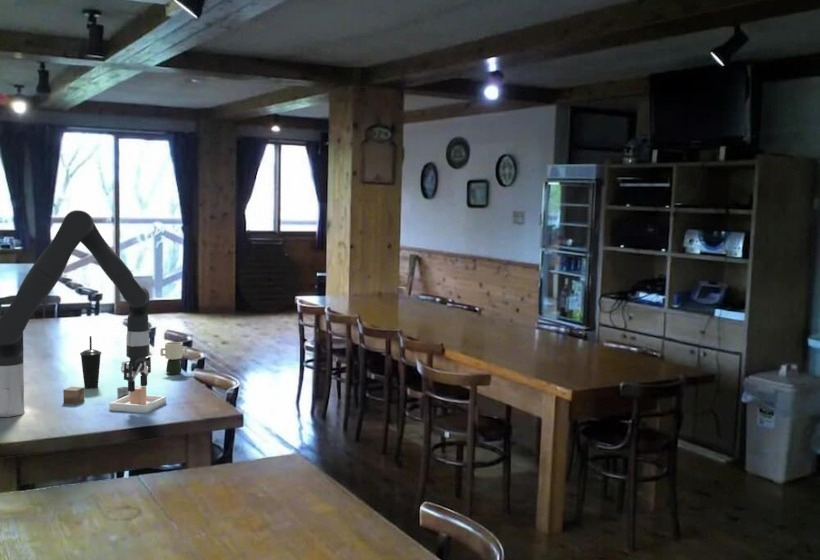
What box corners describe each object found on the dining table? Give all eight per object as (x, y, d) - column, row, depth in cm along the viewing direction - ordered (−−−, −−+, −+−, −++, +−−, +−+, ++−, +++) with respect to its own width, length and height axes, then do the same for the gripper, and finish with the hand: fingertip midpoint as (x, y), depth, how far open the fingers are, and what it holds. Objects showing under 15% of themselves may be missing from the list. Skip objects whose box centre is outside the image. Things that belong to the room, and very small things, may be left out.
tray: (146, 412, 274) (146, 405, 273) (109, 410, 276) (109, 403, 276) (166, 403, 287) (166, 396, 287) (130, 400, 290) (130, 393, 289)
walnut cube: (76, 404, 283) (76, 390, 283) (63, 403, 284) (63, 389, 284) (84, 401, 288) (84, 387, 288) (71, 400, 289) (71, 386, 288)
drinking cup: (80, 385, 311) (80, 335, 309) (101, 384, 314) (101, 334, 312) (80, 390, 304) (79, 338, 302) (101, 388, 307) (101, 337, 305)
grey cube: (125, 400, 290) (125, 389, 290) (115, 399, 291) (115, 389, 290) (131, 397, 294) (131, 387, 294) (121, 397, 295) (121, 386, 294)
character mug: (185, 371, 342) (185, 341, 341) (188, 374, 336) (188, 343, 335) (158, 372, 337) (158, 342, 336) (162, 376, 331) (162, 345, 330)
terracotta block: (140, 406, 279) (140, 389, 279) (130, 405, 280) (129, 388, 279) (146, 403, 283) (146, 386, 283) (135, 402, 284) (135, 386, 283)
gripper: (138, 339, 287) (138, 383, 289) (117, 345, 273) (116, 392, 275) (157, 340, 286) (157, 385, 287) (137, 347, 272) (137, 394, 273)
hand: (137, 388), depth 281 cm, fingers open, 8 cm apart
